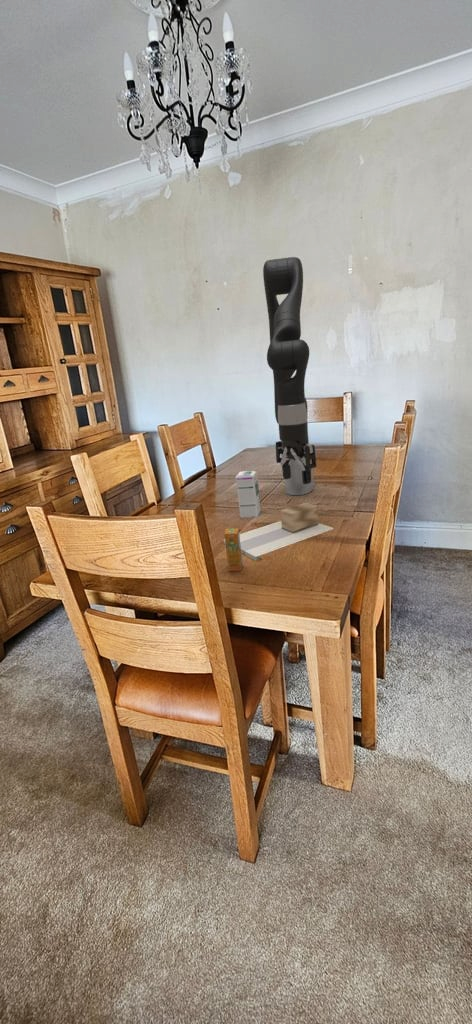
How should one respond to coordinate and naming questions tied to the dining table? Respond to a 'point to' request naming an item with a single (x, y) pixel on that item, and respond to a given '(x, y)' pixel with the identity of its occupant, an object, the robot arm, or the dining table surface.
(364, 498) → the dining table surface
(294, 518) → the block
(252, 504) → the syrup box
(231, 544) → the supplement box
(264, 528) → the board
